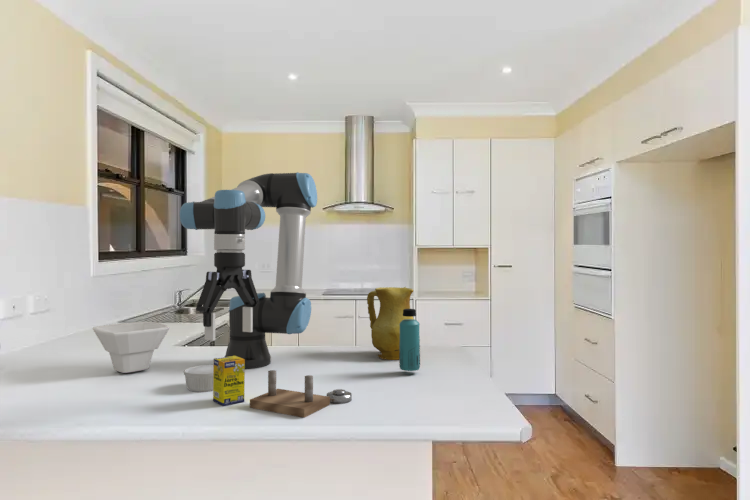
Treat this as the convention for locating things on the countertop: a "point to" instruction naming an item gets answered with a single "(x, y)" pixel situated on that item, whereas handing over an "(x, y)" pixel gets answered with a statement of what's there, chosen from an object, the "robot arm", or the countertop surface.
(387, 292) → the pitcher
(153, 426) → the countertop surface
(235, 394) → the supplement box
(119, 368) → the bowl
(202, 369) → the ramekin
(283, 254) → the robot arm
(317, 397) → the peg rack
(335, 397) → the metal knobbed disc
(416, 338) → the beverage bottle
